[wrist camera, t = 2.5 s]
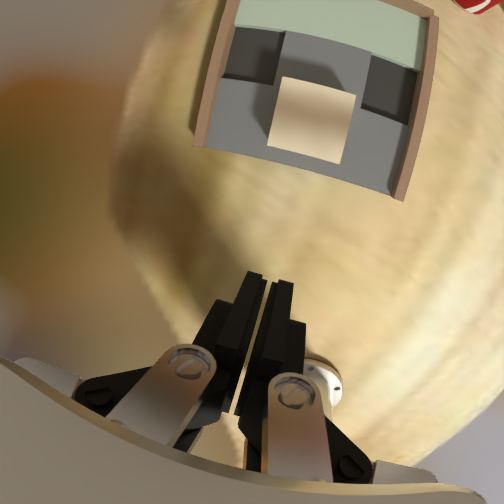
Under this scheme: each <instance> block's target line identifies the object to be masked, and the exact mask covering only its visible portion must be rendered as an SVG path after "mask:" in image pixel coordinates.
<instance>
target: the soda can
mask: <svg viewBox="0 0 504 504" xmlns="http://www.w3.org/2000/svg"><path fill="white" fill-rule="evenodd" d="M452 1H453V2H454V3H455V4H456V5H457V6H458V7H460V8H461V9H462V10H464V11H466V12H468V13H471V14H481V13H483V12H484V11H486V10H488V9H489V8H491V7H493V6H495V5H496V4H498V3H500V2H502V1H503V0H452Z"/></svg>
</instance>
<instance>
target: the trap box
mask: <svg viewBox="0 0 504 504" xmlns="http://www.w3.org/2000/svg"><path fill="white" fill-rule="evenodd" d="M433 14H434V10H433V9H431V8H429V7H426V6H424V5H422V4H420V3H418V2H415V1H413V0H227V2H226V5H225V8H224V12H223V15H222V19H221V22H220V26H219V29H218V33H217V37H216V40H215V44H214V48H213V52H212V56H211V60H210V64H209V69H208V73H207V77H206V81H205V86H204V90H203V95H202V100H201V105H200V109H199V114H198V120H197V125H196V130H195V135H194V141H193V146H194V147H200V148H212V149H217V150H222V151H227V152H232V153H237V154H242V155H247V156H251V157H256V158H260V159H264V160H269V161H273V162H277V163H281V164H285V165H289V166H293V167H297V168H301V169H304V170H308V171H312V172H315V173H319V174H322V175H326V176H329V177H333V178H336V179H340V180H343V181H346V182H349V183H353V184H356V185H359V186H362V187H365V188H368V189H371V190H374V191H377V192H380V193H383V194H386V195H389V196H391V197H393V198H394V199H397V200H400V201H402V202H403V201H404V198H405V195H406V191H407V188H408V185H409V182H410V178H411V175H412V171H413V168H414V164H415V160H416V157H417V153H418V149H419V145H420V141H421V137H422V132H423V128H424V124H425V119H426V114H427V109H428V104H429V99H430V93H431V87H432V81H433V74H434V67H435V59H436V51H437V41H438V28H439V17H437V16H435V15H433ZM282 77H288V78H293V79H298V80H302V81H306V82H311V83H315V84H319V85H322V86H326V87H330V88H334V89H337V90H340V91H344V92H347V93H350V94H354V95H356V99H355V103H354V108H353V112H352V116H351V121H350V125H349V129H348V133H347V137H346V141H345V145H344V149H343V153H342V157H341V161H340V164H336V163H333V162H329V161H326V160H322V159H319V158H315V157H312V156H308V155H304V154H300V153H296V152H292V151H288V150H284V149H280V148H276V147H272V146H267V142H268V138H269V133H270V129H271V125H272V120H273V116H274V111H275V107H276V103H277V98H278V94H279V90H280V85H281V81H282Z"/></svg>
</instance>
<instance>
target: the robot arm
mask: <svg viewBox="0 0 504 504" xmlns="http://www.w3.org/2000/svg"><path fill="white" fill-rule="evenodd" d="M262 276H263V275H261V274H258V273H254V272H250V271H248V272H247V274H246V276H245V279H244V281H243V283H242V285H241V288H240V290H239V292H238V294H237V297H236V299H235V301H234V304H232V303H229V302H225V301H222V300H219V299H217V300H216V301H215V302H214V304H213V306H212V308H211V310H210V312H209V313H208V315H207V317H206V319H205V321H204V323H203V324H202V326H201V328H200V330H199V332H198V334H197V335H196V337H195V339H194V341H193V343H192V344H180V345H176V346H173V347H171V348H170V349H168V350H167V351H166V352H165V353H164V354H163V355H162V356H161V357H160V358H159V359H158V361H157V362H156V363H155V364H154V365H153V366H151V367H146V368H141V369H137V370H132V371H127V372H122V373H117V374H112V375H106V376H101V377H96V378H91V379H88V380H83V379H81V377H80V375H77V374H74V373H71V372H67V371H64V370H62V369H59V368H56V367H53V366H50V365H48V364H45V363H42V362H40V361H37V360H34V359H31V358H21V359H19V360H17V361H15V362H14V363H13V362H12V361H10V360H7V359H5V358H3V357H1V356H0V504H487V502H486V500H485V499H484V498H483V497H482V496H481V495H480V494H479V493H477V492H475V491H473V490H470V489H468V488H464V487H461V486H457V485H452V484H444V483H438V481H437V479H436V477H435V475H433V474H432V473H431V472H429V471H427V470H423V469H418V468H412V467H407V466H403V465H398V464H393V463H389V462H385V461H381V460H377V461H375V462H372V461H370V460H369V458H368V457H367V456H366V455H365V454H364V453H363V452H362V451H361V450H360V449H359V448H358V447H357V446H356V445H355V444H354V443H353V442H352V441H351V440H350V439H349V438H348V437H347V436H346V435H345V434H344V433H342V432H341V431H340V430H339V429H338V428H337V427H336V426H335V425H334V424H333V423H332V408H333V407H334V406H336V405H337V403H338V402H339V401H340V399H341V397H342V394H343V383H342V379H341V377H340V375H339V374H338V373H337V372H336V371H335V370H334V369H333V368H332V367H330V366H329V365H327V364H324V363H322V362H320V361H316V360H312V359H305V358H304V355H305V338H306V324H305V323H302V322H299V321H295V320H291V319H290V311H291V303H292V295H293V286H294V283H291V282H287V281H283V280H280V279H279V281H278V283H275V282H272V284H271V288H270V291H269V295H268V298H267V302H266V305H265V309H264V312H263V315H262V319H261V322H260V326H259V329H258V332H257V336H256V339H255V343H254V346H253V350H252V353H251V357H250V360H249V364H248V367H247V371H246V374H245V378H244V381H243V385H242V388H241V392H240V395H239V398H238V402H237V405H236V409H235V412H234V415H237V416H240V418H239V421H238V425H239V426H238V428H239V429H240V430H241V432H242V433H243V434H244V436H245V437H246V438H245V442H244V456H243V469H241V468H236V467H232V466H228V465H224V464H221V463H218V462H214V461H211V460H207V459H204V458H201V457H198V456H194V455H192V454H190V452H191V450H192V449H193V447H194V445H195V444H196V442H197V441H198V439H199V437H200V436H201V434H202V432H203V431H204V428H205V426H206V425H209V424H212V423H214V422H217V421H218V420H219V419H220V416H221V413H222V411H223V412H226V413H229V410H230V406H231V403H232V400H233V397H234V394H235V390H236V387H237V384H238V381H239V377H240V374H241V371H242V368H243V364H244V361H245V358H246V354H247V351H248V348H249V344H250V341H251V338H252V334H253V331H254V327H255V323H256V320H257V316H258V313H259V309H260V306H261V302H262V298H263V295H264V291H265V287H266V284H267V280H264V279H262Z"/></svg>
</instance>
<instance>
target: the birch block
mask: <svg viewBox="0 0 504 504" xmlns="http://www.w3.org/2000/svg"><path fill="white" fill-rule="evenodd" d="M355 99H356V95H354V94H350V93H347V92H344V91H340V90H337V89H334V88H330V87H326V86H322V85H319V84H315V83H311V82H306V81H302V80H298V79H293V78H288V77H282V81H281V85H280V90H279V94H278V98H277V103H276V107H275V111H274V116H273V120H272V125H271V129H270V133H269V138H268V142H267V146H272V147H276V148H280V149H284V150H288V151H292V152H296V153H300V154H304V155H308V156H312V157H315V158H319V159H322V160H326V161H329V162H333V163H336V164H340V161H341V157H342V153H343V149H344V145H345V141H346V137H347V133H348V129H349V125H350V121H351V116H352V112H353V108H354V103H355Z"/></svg>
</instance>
